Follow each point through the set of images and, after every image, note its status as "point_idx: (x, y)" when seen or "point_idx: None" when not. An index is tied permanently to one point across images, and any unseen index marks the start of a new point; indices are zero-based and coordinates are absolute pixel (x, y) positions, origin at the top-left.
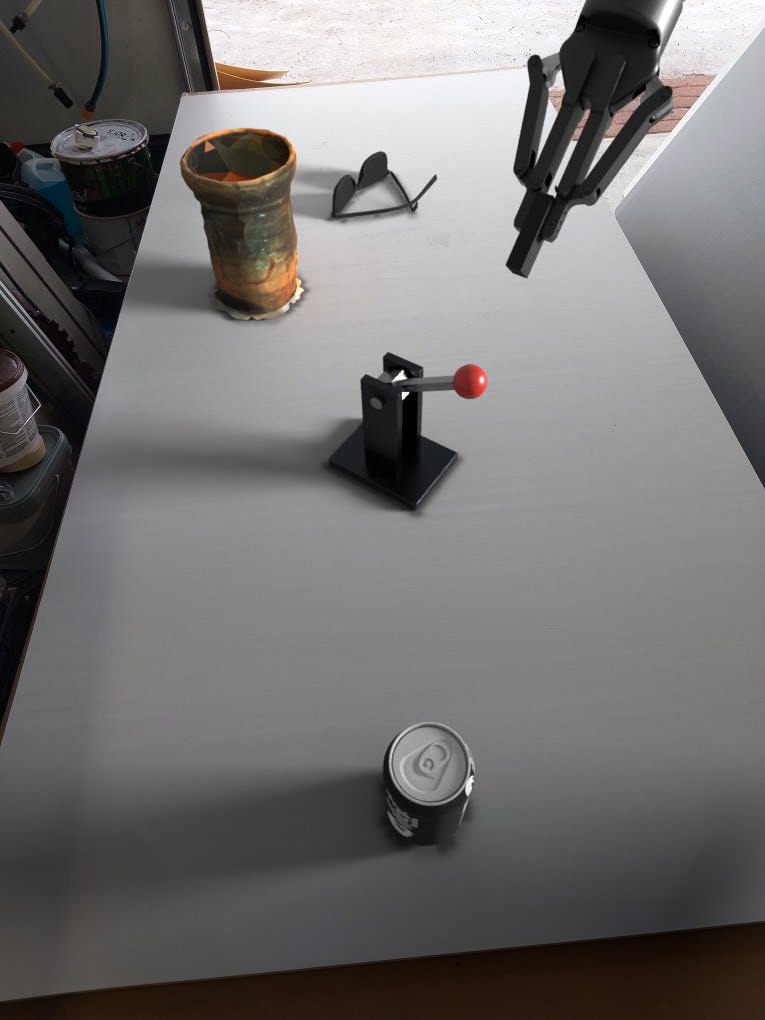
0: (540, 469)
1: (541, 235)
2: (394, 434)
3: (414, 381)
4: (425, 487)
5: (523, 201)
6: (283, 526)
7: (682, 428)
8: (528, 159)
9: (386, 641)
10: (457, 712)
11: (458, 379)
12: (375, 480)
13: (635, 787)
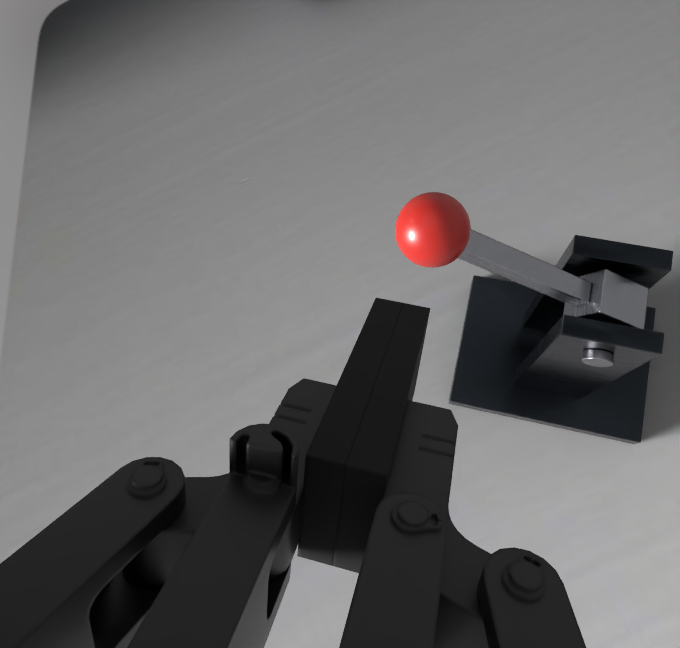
0: None
1: (334, 385)
2: None
3: (558, 275)
4: (473, 311)
5: (444, 476)
6: (648, 186)
7: None
8: (495, 626)
9: (429, 95)
10: (323, 57)
11: (453, 198)
12: None
13: (140, 61)
